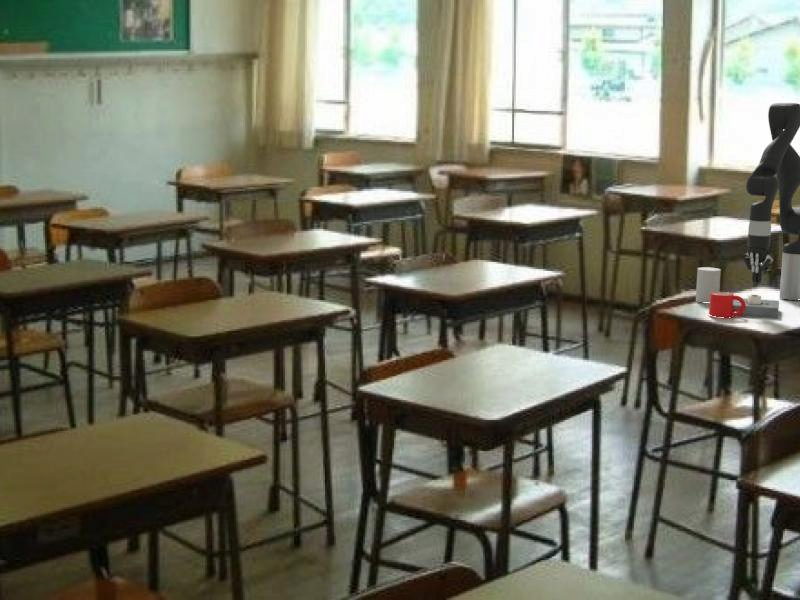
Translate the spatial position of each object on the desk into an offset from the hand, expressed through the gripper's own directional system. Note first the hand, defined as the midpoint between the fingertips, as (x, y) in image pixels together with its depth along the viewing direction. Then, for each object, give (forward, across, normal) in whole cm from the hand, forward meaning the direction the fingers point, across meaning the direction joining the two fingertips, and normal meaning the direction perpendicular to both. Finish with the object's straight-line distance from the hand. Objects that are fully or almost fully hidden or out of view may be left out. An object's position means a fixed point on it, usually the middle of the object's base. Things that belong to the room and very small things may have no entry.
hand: (756, 283), depth 454 cm
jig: (+10, 0, 0) cm, 11 cm away
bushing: (+10, 0, 0) cm, 11 cm away
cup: (+11, +24, -2) cm, 26 cm away
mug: (+11, -1, +14) cm, 18 cm away
